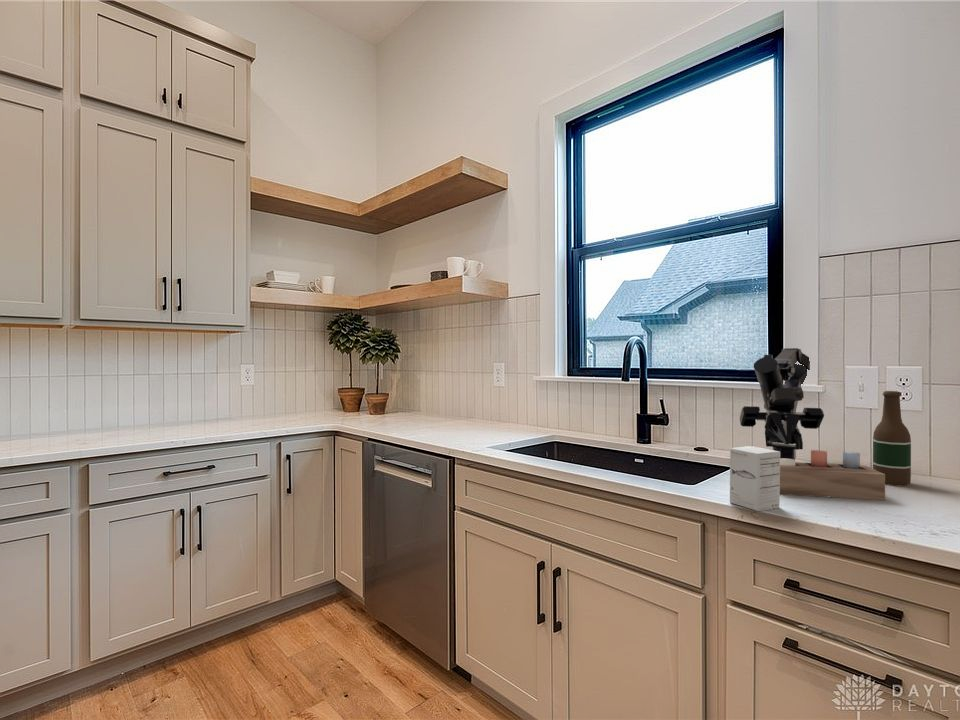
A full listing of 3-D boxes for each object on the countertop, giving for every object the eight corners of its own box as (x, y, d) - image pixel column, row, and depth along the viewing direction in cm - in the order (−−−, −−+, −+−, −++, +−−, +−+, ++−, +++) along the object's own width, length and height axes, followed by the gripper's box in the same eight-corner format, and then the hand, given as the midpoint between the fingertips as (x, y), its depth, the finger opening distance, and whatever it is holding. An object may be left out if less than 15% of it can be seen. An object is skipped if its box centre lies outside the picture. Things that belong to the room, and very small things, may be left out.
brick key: (808, 466, 130) (808, 449, 130) (824, 467, 129) (824, 450, 129) (813, 469, 127) (813, 452, 127) (829, 469, 126) (829, 452, 126)
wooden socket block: (766, 483, 134) (766, 460, 134) (864, 489, 128) (865, 465, 128) (778, 493, 124) (778, 469, 124) (885, 500, 118) (885, 474, 118)
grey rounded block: (840, 467, 128) (840, 451, 128) (856, 468, 128) (856, 451, 128) (846, 470, 125) (846, 453, 125) (862, 471, 124) (862, 454, 124)
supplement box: (728, 503, 116) (728, 447, 116) (751, 499, 119) (751, 445, 119) (757, 512, 110) (757, 453, 110) (781, 508, 113) (781, 450, 113)
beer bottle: (873, 477, 141) (873, 389, 140) (910, 481, 136) (910, 391, 135) (872, 483, 134) (872, 391, 134) (911, 487, 130) (911, 392, 129)
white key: (777, 474, 132) (777, 457, 132) (792, 475, 131) (792, 458, 131) (781, 477, 129) (782, 460, 129) (797, 478, 128) (797, 461, 128)
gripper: (742, 376, 137) (752, 422, 127) (821, 376, 133) (839, 424, 122) (735, 403, 145) (744, 448, 134) (810, 404, 140) (826, 452, 130)
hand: (787, 443), depth 130 cm, fingers closed
